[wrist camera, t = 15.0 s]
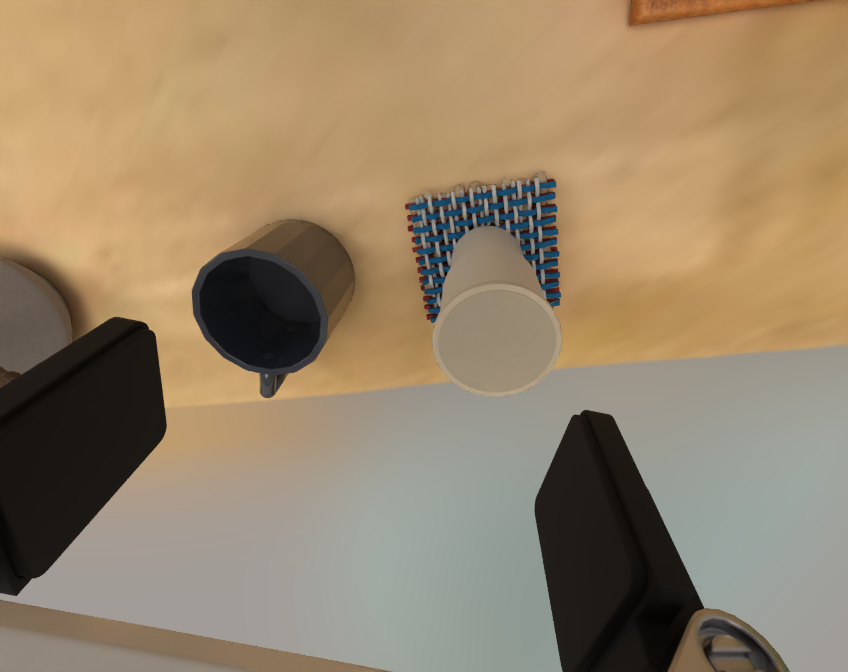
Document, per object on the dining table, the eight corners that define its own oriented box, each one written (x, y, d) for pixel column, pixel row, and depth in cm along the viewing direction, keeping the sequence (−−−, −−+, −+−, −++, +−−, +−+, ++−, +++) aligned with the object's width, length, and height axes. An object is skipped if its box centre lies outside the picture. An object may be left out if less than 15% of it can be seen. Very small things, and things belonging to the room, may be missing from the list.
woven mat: (402, 192, 32) (398, 198, 31) (552, 167, 31) (557, 171, 29) (427, 320, 37) (425, 331, 35) (558, 304, 35) (563, 315, 34)
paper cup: (437, 290, 33) (421, 384, 22) (454, 210, 31) (446, 271, 20) (516, 307, 34) (539, 408, 22) (540, 228, 31) (581, 299, 20)
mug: (245, 208, 34) (187, 236, 27) (361, 232, 34) (332, 266, 27) (247, 344, 40) (199, 397, 33) (345, 364, 40) (319, 421, 33)
